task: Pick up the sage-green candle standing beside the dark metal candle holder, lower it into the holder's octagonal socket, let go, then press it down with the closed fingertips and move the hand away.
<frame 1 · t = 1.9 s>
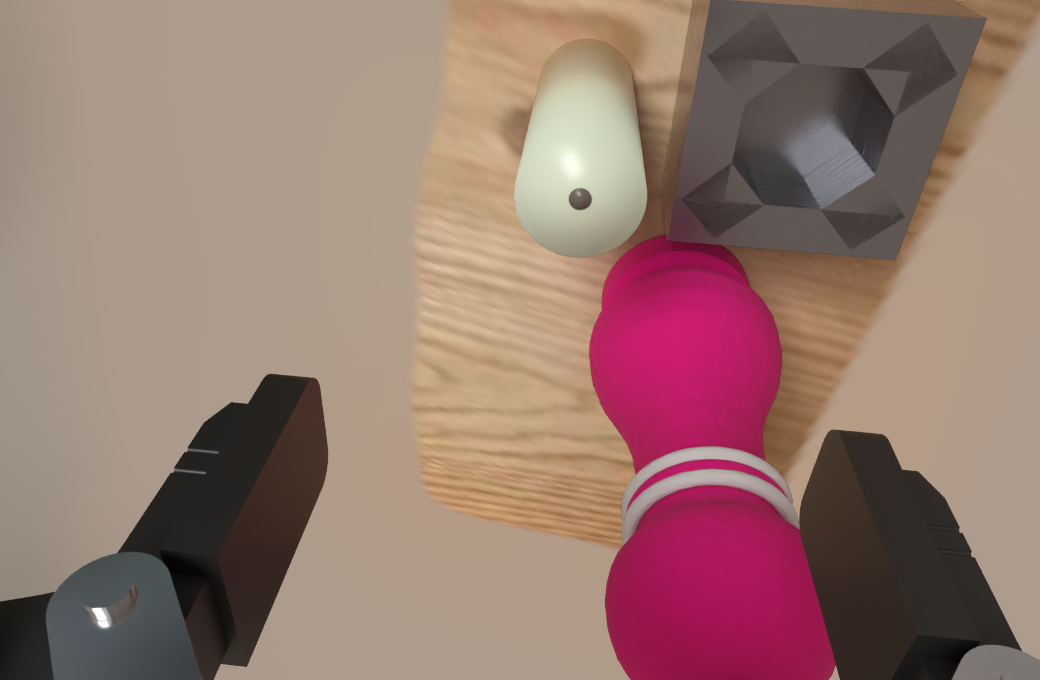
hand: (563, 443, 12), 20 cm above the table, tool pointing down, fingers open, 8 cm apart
candle holder: (786, 102, 28), on the table
candle: (585, 88, 28), on the table
pepper mill: (673, 294, 33), on the table
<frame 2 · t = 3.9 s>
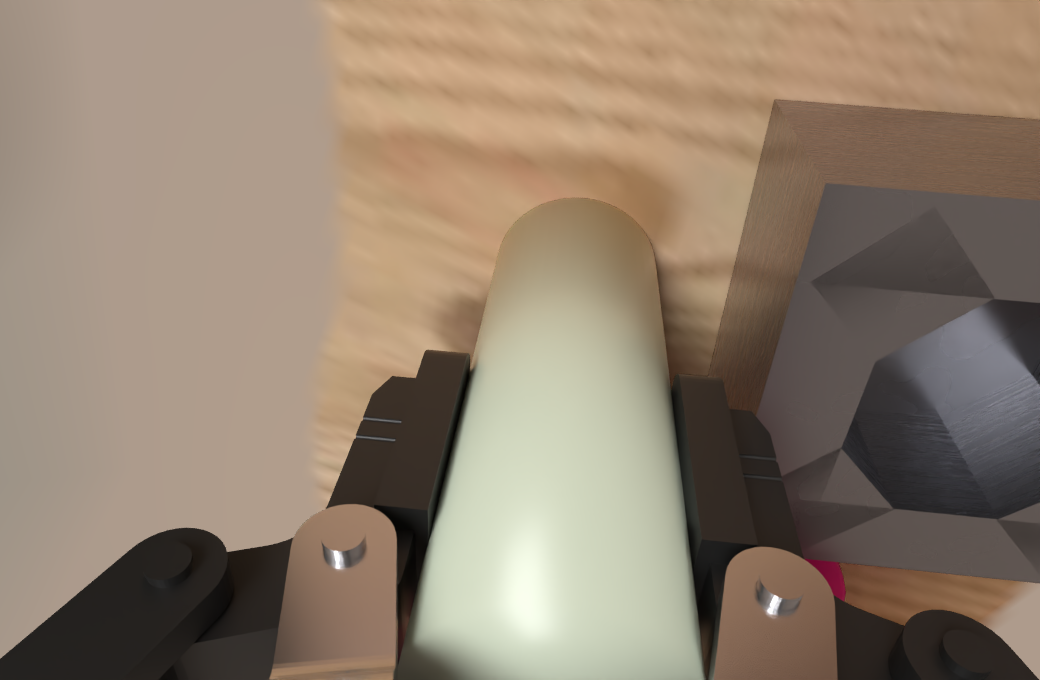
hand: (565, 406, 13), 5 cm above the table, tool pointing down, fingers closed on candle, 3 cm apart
candle holder: (917, 299, 16), on the table
candle: (575, 271, 17), on the table, touching gripper
pepper mill: (713, 546, 22), on the table
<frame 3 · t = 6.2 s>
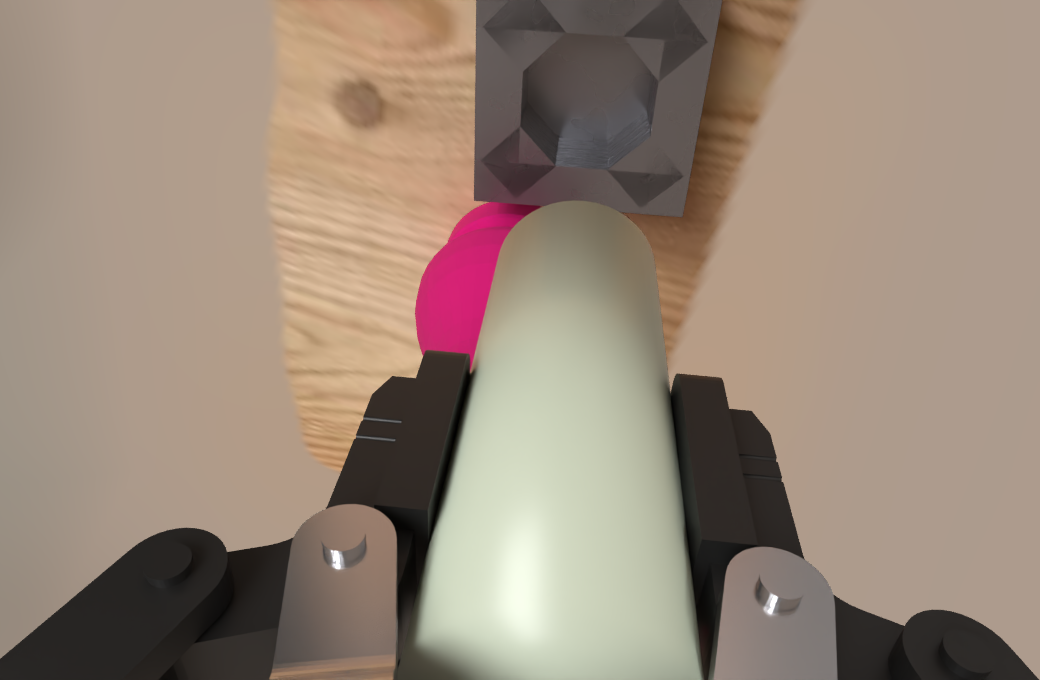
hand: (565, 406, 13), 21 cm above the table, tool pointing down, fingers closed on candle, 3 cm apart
candle holder: (589, 73, 30), on the table
candle: (575, 274, 17), point 16 cm above the table, touching gripper
pepper mill: (513, 258, 35), on the table
when the fingers open (7 cm above the table, at t = 8.5 s): candle stays where it is, resting on candle holder.
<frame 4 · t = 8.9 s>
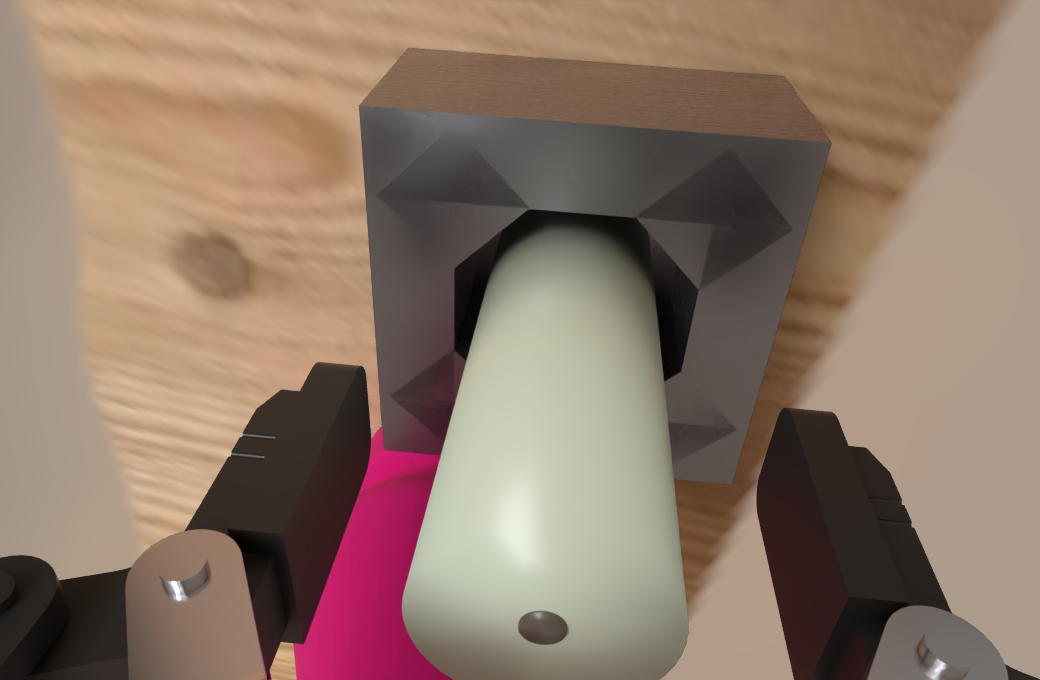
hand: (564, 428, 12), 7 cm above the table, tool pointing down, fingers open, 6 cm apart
candle holder: (576, 231, 18), on the table
candle: (573, 253, 18), point 1 cm above the table, touching candle holder
pepper mill: (465, 472, 24), on the table
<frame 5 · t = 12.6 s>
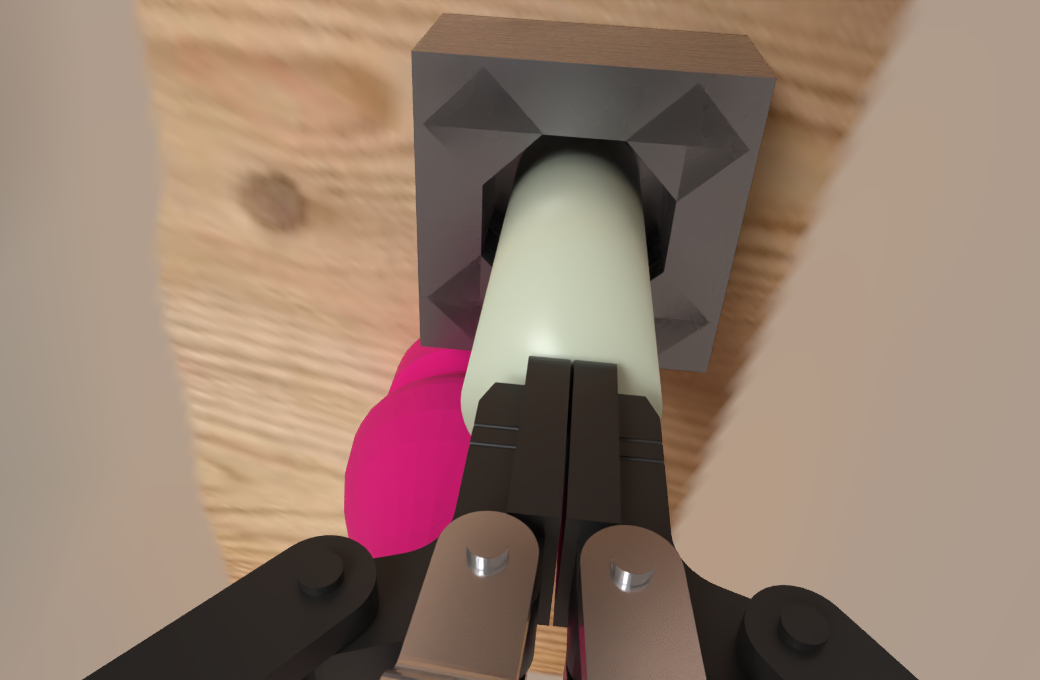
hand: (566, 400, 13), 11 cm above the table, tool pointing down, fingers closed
candle holder: (579, 169, 22), on the table
candle: (577, 183, 21), point 1 cm above the table, touching candle holder, gripper
pepper mill: (483, 388, 27), on the table
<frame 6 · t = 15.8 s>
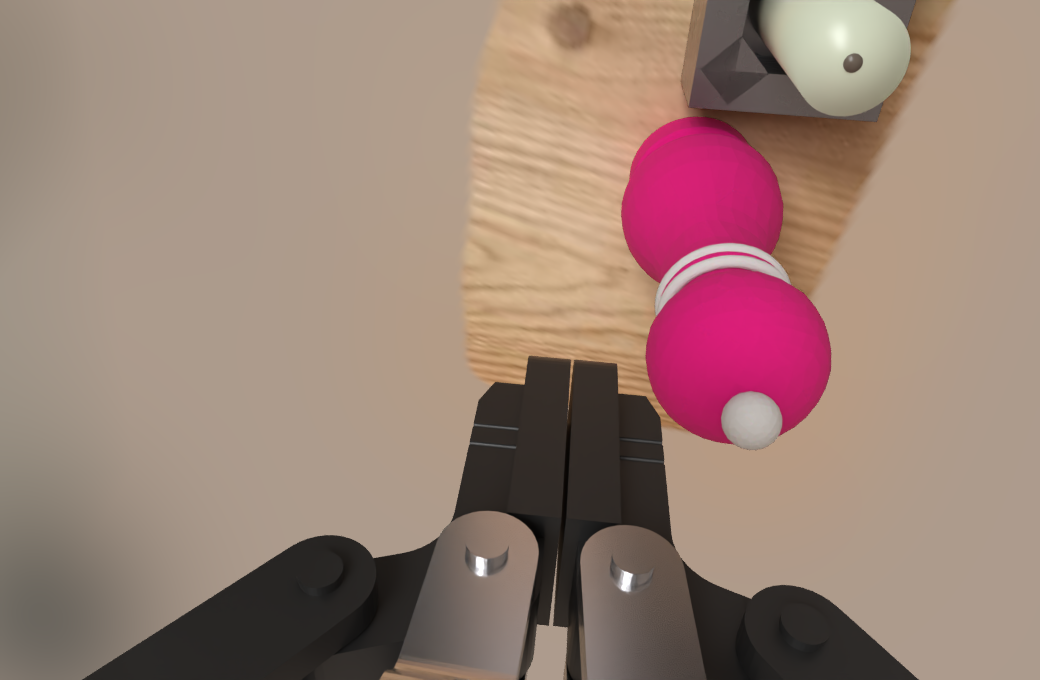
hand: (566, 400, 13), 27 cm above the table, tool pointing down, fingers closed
candle: (790, 2, 33), point 1 cm above the table, touching candle holder
pepper mill: (690, 174, 39), on the table
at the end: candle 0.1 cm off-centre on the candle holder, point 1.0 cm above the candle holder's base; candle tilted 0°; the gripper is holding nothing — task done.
